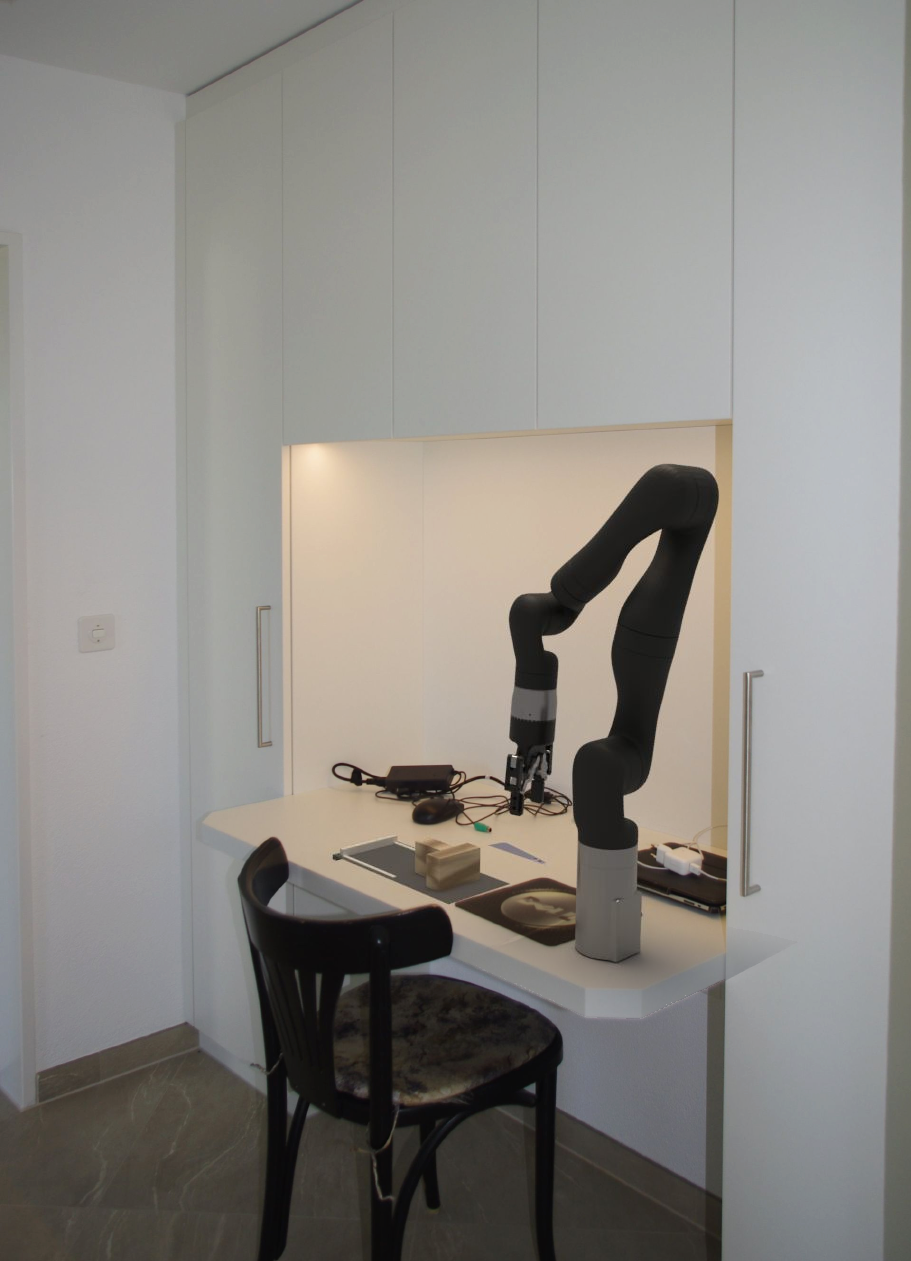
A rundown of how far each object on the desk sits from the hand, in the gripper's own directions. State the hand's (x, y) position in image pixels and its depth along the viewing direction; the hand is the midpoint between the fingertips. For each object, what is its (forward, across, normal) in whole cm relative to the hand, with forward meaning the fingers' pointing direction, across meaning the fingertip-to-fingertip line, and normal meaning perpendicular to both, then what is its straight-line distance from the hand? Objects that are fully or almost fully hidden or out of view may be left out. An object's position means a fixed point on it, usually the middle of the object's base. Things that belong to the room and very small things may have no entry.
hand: (526, 808), depth 166 cm
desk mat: (+20, +9, +25) cm, 33 cm away
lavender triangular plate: (+20, +26, +13) cm, 36 cm away
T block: (+19, +7, +19) cm, 27 cm away
